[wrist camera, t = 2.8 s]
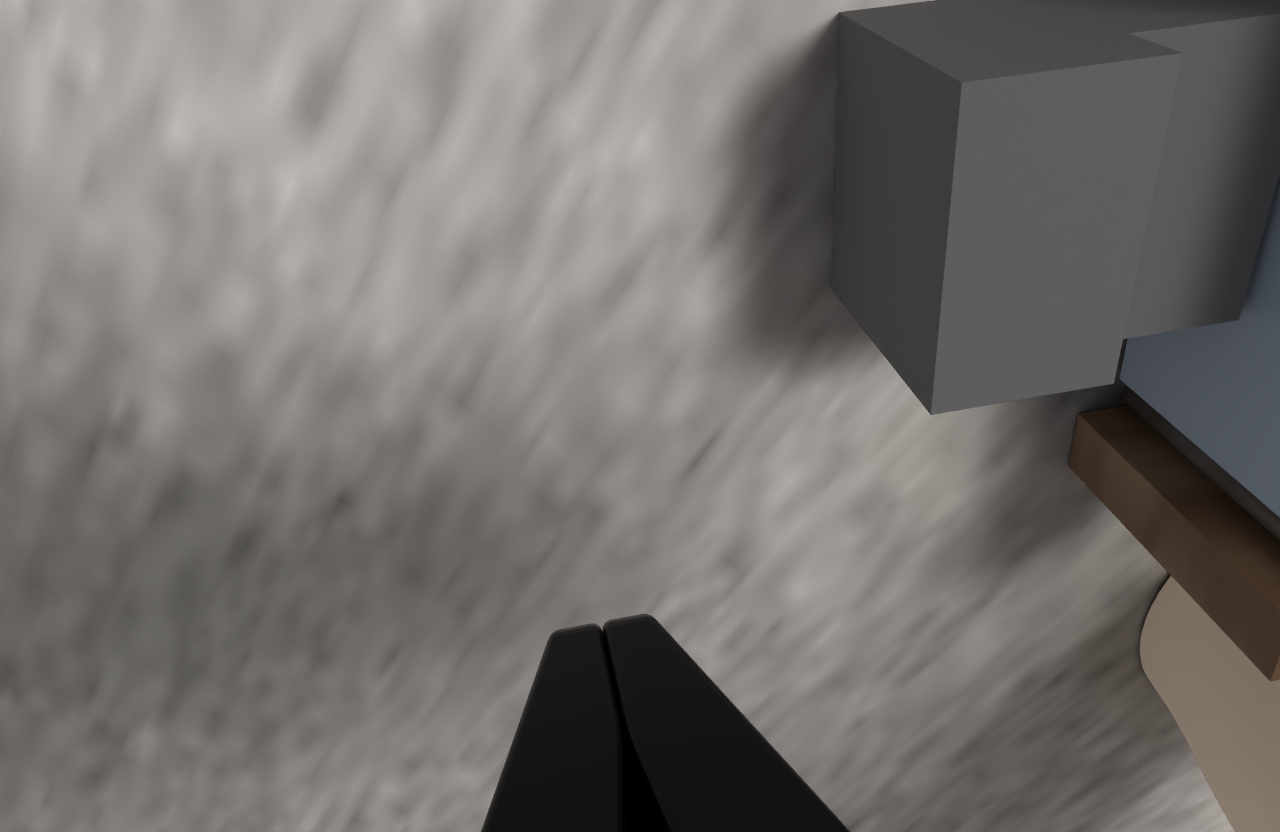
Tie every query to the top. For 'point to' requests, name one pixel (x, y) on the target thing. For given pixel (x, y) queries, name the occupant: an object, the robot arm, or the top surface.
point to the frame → (1188, 519)
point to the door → (1224, 377)
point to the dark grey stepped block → (1048, 182)
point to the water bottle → (1217, 707)
